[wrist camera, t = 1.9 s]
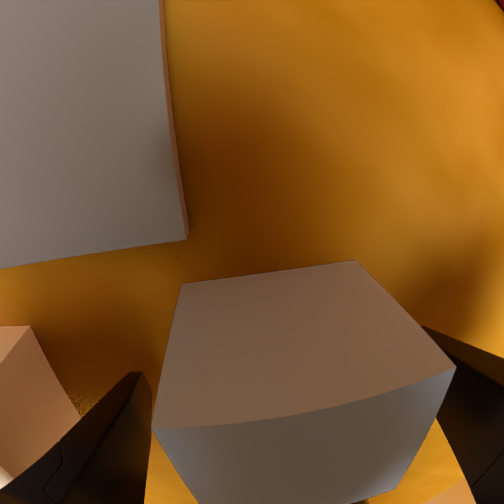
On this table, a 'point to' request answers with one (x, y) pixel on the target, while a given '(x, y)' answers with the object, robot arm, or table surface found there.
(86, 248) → the baseplate
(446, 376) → the slate block
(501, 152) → the table surface
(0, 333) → the cream block
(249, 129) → the table surface
